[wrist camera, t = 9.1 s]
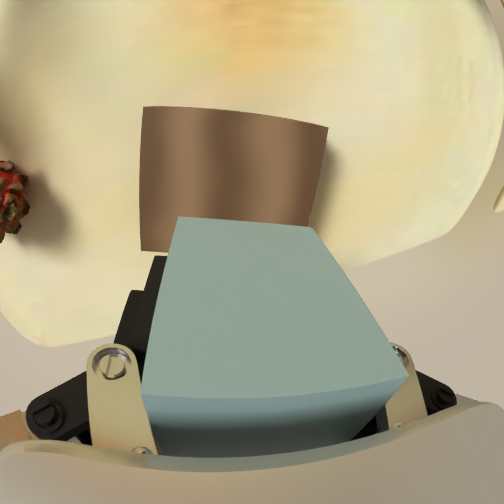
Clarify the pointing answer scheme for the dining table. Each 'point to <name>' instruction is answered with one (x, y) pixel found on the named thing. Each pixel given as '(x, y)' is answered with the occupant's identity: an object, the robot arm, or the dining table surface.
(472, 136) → the dining table surface
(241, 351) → the block
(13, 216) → the dragon fruit
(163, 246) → the plinth
